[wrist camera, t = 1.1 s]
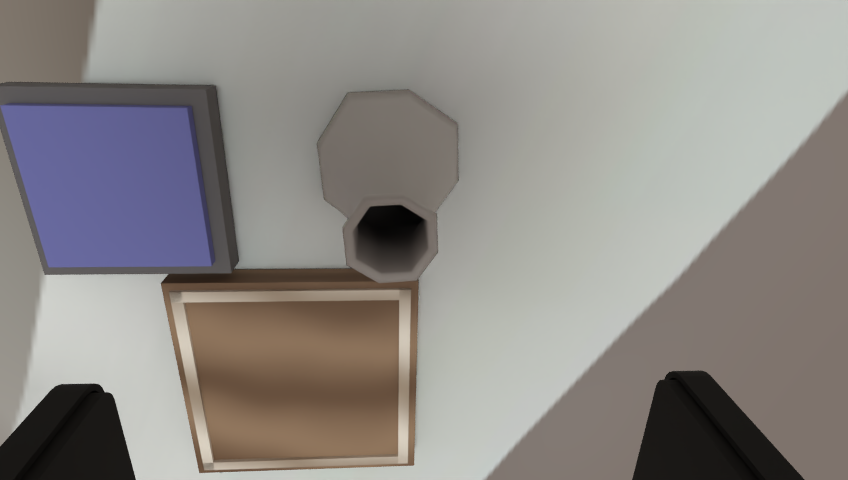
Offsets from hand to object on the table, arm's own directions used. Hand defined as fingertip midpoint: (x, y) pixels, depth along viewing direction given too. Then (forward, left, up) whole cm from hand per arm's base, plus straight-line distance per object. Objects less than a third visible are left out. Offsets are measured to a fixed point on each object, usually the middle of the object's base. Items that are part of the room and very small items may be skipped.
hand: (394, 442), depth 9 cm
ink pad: (+1, -13, -18) cm, 22 cm away
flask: (0, 0, -19) cm, 19 cm away
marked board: (+12, -5, -18) cm, 23 cm away
